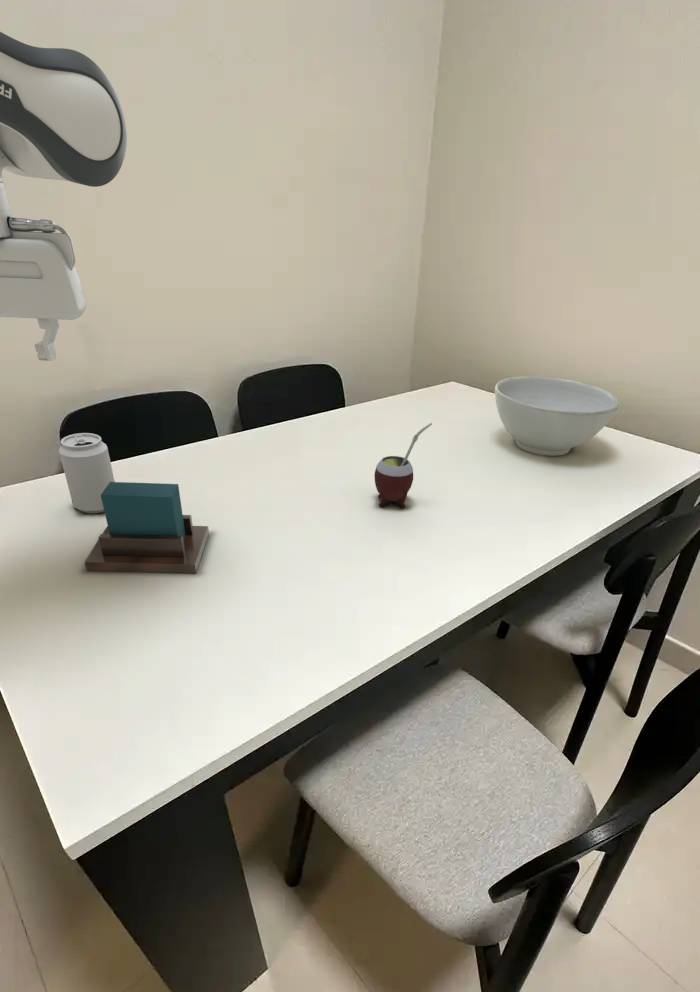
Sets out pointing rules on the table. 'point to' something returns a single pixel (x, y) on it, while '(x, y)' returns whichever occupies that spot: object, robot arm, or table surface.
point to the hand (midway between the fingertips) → (7, 357)
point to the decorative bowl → (552, 412)
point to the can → (86, 470)
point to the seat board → (149, 551)
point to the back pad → (143, 509)
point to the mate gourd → (395, 477)
